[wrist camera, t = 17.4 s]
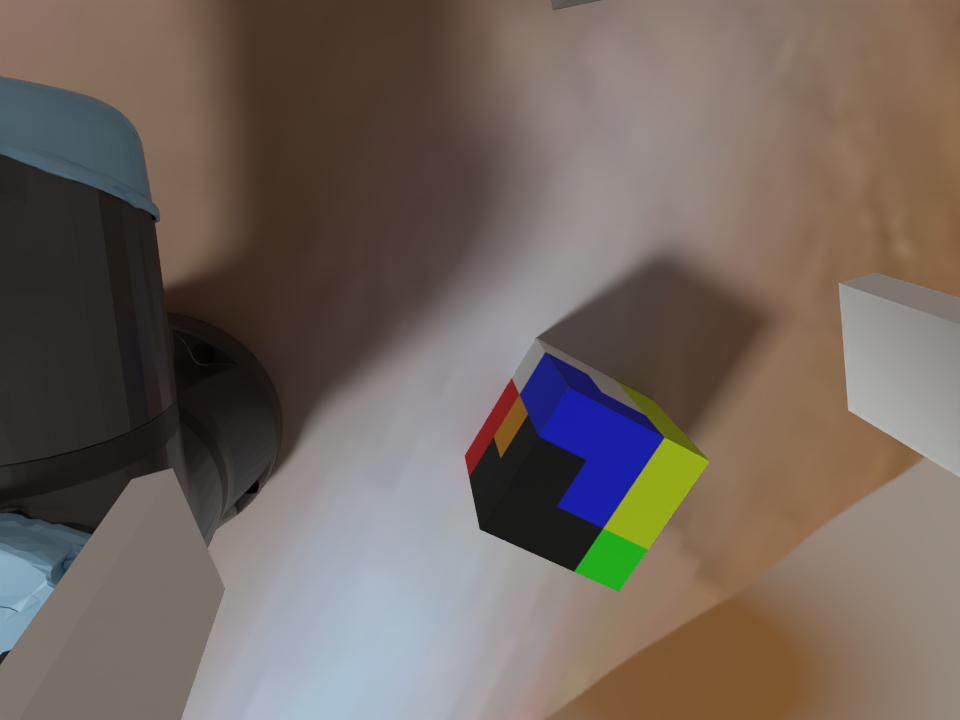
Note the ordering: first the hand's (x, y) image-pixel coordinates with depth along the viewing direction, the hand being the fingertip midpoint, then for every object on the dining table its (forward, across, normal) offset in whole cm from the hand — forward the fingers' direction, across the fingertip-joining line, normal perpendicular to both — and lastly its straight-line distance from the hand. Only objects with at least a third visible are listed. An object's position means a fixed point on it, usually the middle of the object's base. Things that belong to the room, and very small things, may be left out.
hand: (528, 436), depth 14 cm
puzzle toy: (+34, -6, +17) cm, 39 cm away
